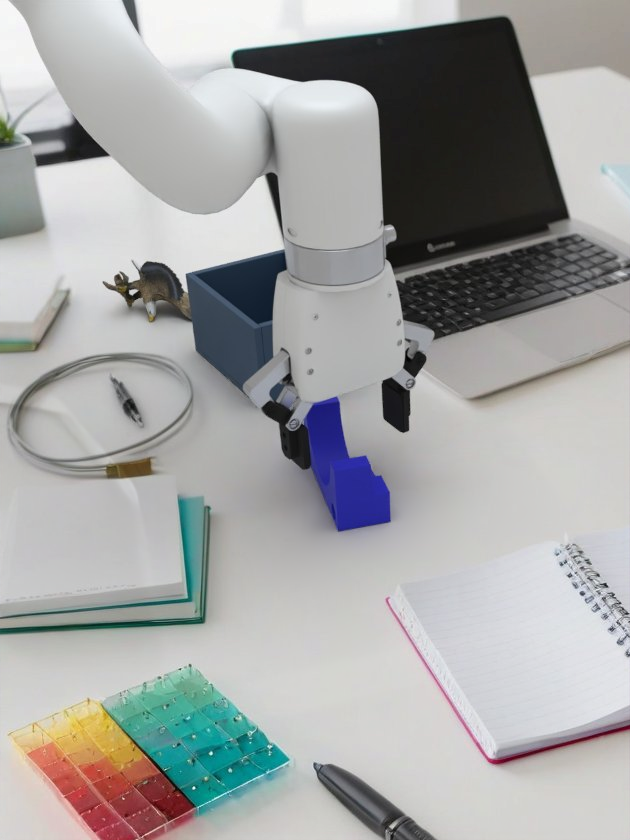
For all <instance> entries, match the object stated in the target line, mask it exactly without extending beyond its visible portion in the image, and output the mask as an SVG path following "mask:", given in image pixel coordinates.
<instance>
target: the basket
mask: <svg viewBox="0 0 630 840" xmlns="http://www.w3.org/2000/svg"><path fill="white" fill-rule="evenodd" d="M285 270H287V266H286V256H285V248H283V249H278V250H275V251H271V252H267V253H263V254H259V255H255V256H250V257H246V258H242V259H239V260H234V261H231V262H227V263H223V264H219V265H215V266H210V267H206V268H202V269H198V270H194V271H192V272H191V271H190V272H187V273H185V279H186V281H185V282H186V289H187V293H188V296H189V304H190V311H191V318H192V319H191V324H192V333H193V339H194V340H193V341H194V345H195V352H197V353H198V354H199V355H201V357H203V358H204V359H205V360H206V361H207V362H208V363H209V364H210V365H212V366H213V367H214V368H215V369H216V370H217V371H219V373H220V374H222V375H223V376H225V378H227V379H228V381H230V382H231V383H233V384H234V385H235V386H236V387H237V388H238V389H239V390H240V391H241V392H242V393H244V394H245V395H246V396H247V397H248V395H247V394H246V393H245V392H244V390H243V384H244V383H245V382H246V381H247V380H248V379H250V378H251V377H252V376H253V375H254V374H255V373H256V372H257V371H259V370H260V369H261V368H262V367H263V366H264V365H265V364H267V363H268V362H269V361H270V360H271V359H272V358H273V304H274V294H275V287H276V280H277V275H278V274H279V273H280V272H283V271H285ZM284 387H285V385H284V384H282V385H281V384H280V383H279V382H278V383H277V384H276V385H275V386H274V387H273V388H272V389H271V390H270V392H269V395H270V397H271V398H272V399H273V400H274V401H276V400H277V399H278V397H279V395H280V393H281V392H282V390H283V388H284ZM298 398H299V397H297V398H296V399H298Z"/></svg>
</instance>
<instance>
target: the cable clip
mask: <svg viewBox="0 0 630 840" xmlns="http://www.w3.org/2000/svg"><path fill="white" fill-rule="evenodd" d="M340 403H341V402H340V400H339V396H336V397H333V398H330V399H327V400H324V401H321V402H317V403H313V405H312V407H311V409H310V410H309V412H308V414H307V415H306V417H305V419H304V420H303V425H305V426H306V427H307V429H308V434H309V444H310V455H311V466H310V468H311V470H312V473H313V475H314V477H315V480H316V482H317V484H318V487H319V489H320V491H321V494H322V496H323V499H324V502H325V503H326V506H327V508H328V511H329V513H330V515H331V518H332V520H333V522H334V526H335V528H336V530H337V532H343V531H347V530H353V529H358V528H364V527H369V526H374V525H380V524H385V523H389V522H391V492H390V489H389V488H388V486H387V484H386V482H385V479H384V478H383V476H382V474H379V475H376V474H375V472H374V470H373V469H372V465H371V462H370V461H369V458H368V456H367V455H360V456H353V457H350V455H349V452H348V447H347V443H346V438H345V434H344V429H343V422H342V413H341V404H340Z"/></svg>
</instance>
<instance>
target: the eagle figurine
mask: <svg viewBox="0 0 630 840" xmlns="http://www.w3.org/2000/svg"><path fill="white" fill-rule="evenodd" d="M130 260H131V261H130V262H131V263H132V265H133V266H134V267H135V268H136V270H137V273H138V276H139V279H137V280H133V281H129V280H130V277H129V276H128V275H127V274H125V273H124V272H123V271H121V270H119V272H118V273H117V274H115V275H114V277H113V281H114V285H113V284H111V283H108V282H107V281H106V280H102V285H103V286H105V288H106V289H108V290H110V291H113V292H115V293H116V292H117V294H119V295H120V296H121V297H122V298H123V299H124V300H125V302H126V304H127V307H128V308H132V307H133V305H134V303H135V302H136V301H137V300H140V299H142V302H143V304H144V306H145V308H146V311H147V314H148V322H149V323H151V322H153V321H154V318H155V316H156V315H157V307H156V306H157V305H156V303H157V302H158V301H165V302H167V303H169V304H171V305H172V306H174V307H175V308H177V309H178V310H179V311H180V312H181V313H182V314H183V315H184V316H185V317H187V318H188V319H189V320H192V318H191V311H190V304H189V296H188V291H185V290H184V288H182V287H183V284H182V283H181V281H180V278H179V277H178V275H177V273H175V272H174V270H173V269H171V267H169V266H168V265H166V263H163V262H157V261H149V260H146V261H145V262H144V263H143V264H142V265H140V264H139V263H138V262H137V260H134V259H130ZM133 290H136V292H135V293H133V294H131V293H130V291H133Z"/></svg>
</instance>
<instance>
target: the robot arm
mask: <svg viewBox="0 0 630 840" xmlns="http://www.w3.org/2000/svg"><path fill="white" fill-rule="evenodd" d="M8 2H9V3H11V5H12V6H13V7H14V8H15V9H16V10H17V11H18V12H19V14H20V15H21V16H22V17H23V20H24V21H25V23H26V25H27V27H28V29H29V32H30V35H31V38H32V40H33V43H34V46H35V48H36V50H37V53H38V55H39V58H40V59H41V61H42V63H43V65H44V67H45V68H46V70H47V72H48V74H49V77H50V78H51V80H52V82H53V83H54V86H55V88H56V89H57V91H58V93H59V95H60V97H61V98H62V100H63V101H64V104H65V105H66V107H67V108H68V109H69V111H70V113H71V114H72V115H73V116H74V118H75V119H76V120H77V122H78V123H79V125H80V126H82V127H83V129H84V131H86V133H87V134H88V135H89V136H90V137H91V138H92V139H93V140H94V141H95V142H96V143H97V144H98V145H99V146H100V147H101V148H102V149H103V150H104V151H105V152H106V153H107V154H108V155H109V156H110V157H112V159H113V160H114V161H115V162H116V163H117V164H118V165H119V166H120V167H121V168H122V169H124V170H125V171H126V172H127V174H129V175H130V176H131V177H132V178H133V179H134V180H135V181H136V182H137V183H138V184H140V185H141V186H142V187H143V188H144V189H146V190H147V191H148V192H149V193H150V194H152V195H153V196H154V197H156V198H158V199H159V200H161V201H162V202H164V203H165V204H167V205H168V206H171V207H173V208H175V209H176V210H179V211H181V212H184V213H189V214H192V215H204V216H206V215H207V216H208V215H212V214H217V213H218V214H219V213H220V212H223V211H225V210H228V209H229V208H231V207H232V206H233V205H235V204H237V202H238V201H240V199H241V198H242V197H243V196H244V195H245V194H246V193H247V191H248V190H249V189H250V188H251V187H252V186H253V185H254V183H256V180H257V179H258V178H261V177H263V176H265V175H268V174H270V173H272V174H275V176H277V186H278V193H279V205H280V214H281V226H282V233H283V234H282V235H283V244H284V246H283V247H284V249H285V256H286V266H287V270H285V271H283V272H280V273H279V274H278V275H277V280H276V287H275V294H274V304H273V358H272V359H271V360H270V361H269V362H268V363H267V364H265V365H264V366H263V367H262V368H261V369H260V370H259V371H257V372H256V373H255V374H254V375H253V376H252V377H251V378H250V379H248V380H247V381H246V382H245V383H244V384H243V390H244V392H245V393H246V394H247V395H248V396H247V395H246V394H245V393H244V392H243V393H244V394H245V395H246V396H247V397H248V398H249V399H250V401H251V402H252V403H253V404H254V406H255V407H256V408H257V409H258V410H259V411H260V412H261V413H263V414H264V415H265V417H267V418H269V419H270V420H272V421H274V422H276V423H278V429H279V437H280V446H281V448H280V449H281V451H282V454H283V455H284V457H285V458H286V459H287V460H289V461H292V462H293V463H294V464H295V465H296V466H297V467H299V468H300V469H301V470H302V471H307V470H308V469H310V468H311V455H310V444H309V434H308V429H307V427H306V426H305V425H304V419H305V417H306V415H307V414H308V412H309V410H310V409H311V407H312V405H313V403H317V402H321V401H324V400H327V399H330V398H333V397H336V396H337V397H339V396H342V395H346V394H348V393H351V392H353V391H357V390H359V389H362V388H365V387H368V386H371V385H374V384H377V383H379V382H382V383H380V384H381V400H382V401H381V403H382V404H381V405H382V418H383V420H384V421H385V422H386V423H387V424H389V425H390V426H392V427H393V428H394V429H396V430H397V431H398V432H399V433H402V434H404V433H408V432H409V431H410V416H411V412H412V411H411V390H413V389H414V388H415V387H416V384H417V379H416V377H417V376H418V374H419V373H420V372H421V370H422V369H423V367H424V366H425V365H426V363H427V361H428V360H427V353H429V350H430V348H431V346H432V343H433V340H434V338H435V335H436V334H435V332H434V330H432V329H431V328H430V327H428V326H426V325H425V324H421V323H419V322H418V323H417V322H413V321H409V320H405V319H404V317H403V311H402V305H401V303H402V302H401V299H400V293H399V288H398V285H397V280H396V277H395V273H394V270H393V267H392V264H391V262H390V261H389V260H387V259H386V258H387V246H388V245H389V244H390V243H393V242H396V240H397V231H396V228H395V227H394V226H393V225H392V224H387V225H384V208H383V207H384V205H383V204H384V203H383V184H382V182H383V181H382V165H381V164H382V163H381V162H382V161H381V158H382V157H381V138H380V137H381V135H380V118H379V108H378V105H377V102H376V100H375V98H374V96H373V95H372V94H371V92H369V91H368V90H367V89H366V88H365V87H363V86H361V85H358V84H356V83H352V82H349V81H342V80H333V79H317V80H308V81H298V80H292V79H289V78H283V77H279V76H275V75H270V74H266V73H262V72H259V71H258V72H257V71H253V70H250V69H244V68H237V67H236V68H235V67H231V68H229V67H227V68H219V69H215V70H213V71H210V72H208V73H206V74H204V75H202V76H201V77H200V78H199V79H197V81H195V82H194V83H193V84H192V85H190V86H189V87H188V88H185V86H184V85H183V84H182V83H180V81H179V80H178V79H176V77H175V76H174V75H173V74H172V73H171V72H170V71H169V70H168V69H167V68H166V66H164V64H162V62H161V61H160V60H159V59H158V57H156V56H155V54H154V53H153V52H152V50H151V49H150V48H149V46H148V45H147V44H146V42H145V41H144V40H143V38H142V37H141V35H140V33H139V32H138V30H137V28H136V27H135V25H134V23H133V21H132V20H131V18H130V16H129V14H128V11H127V9H126V5H125V3H124V1H123V0H8ZM406 340H410V342H409V347H408V348H406ZM278 382H279V383H280V384H281V385H282V384H284V385H285V387H284V388H283V390H282V392H281V393H280V395H279V397H278V399H277V400H276V401H274V400H273V399H272V398H271V397H270V395H269V392H270V390H271V389H272V388H273V387H274V386H275V385H276V384H277V383H278ZM297 397H298V398H297Z"/></svg>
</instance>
